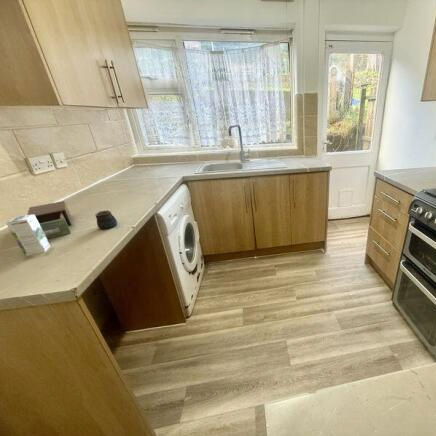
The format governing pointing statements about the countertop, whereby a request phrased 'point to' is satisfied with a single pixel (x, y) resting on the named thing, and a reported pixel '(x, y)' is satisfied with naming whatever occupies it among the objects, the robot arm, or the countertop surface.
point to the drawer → (54, 225)
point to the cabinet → (51, 210)
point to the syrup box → (28, 234)
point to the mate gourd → (105, 220)
